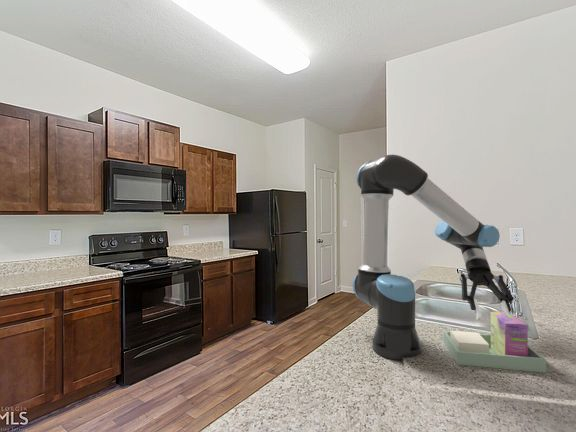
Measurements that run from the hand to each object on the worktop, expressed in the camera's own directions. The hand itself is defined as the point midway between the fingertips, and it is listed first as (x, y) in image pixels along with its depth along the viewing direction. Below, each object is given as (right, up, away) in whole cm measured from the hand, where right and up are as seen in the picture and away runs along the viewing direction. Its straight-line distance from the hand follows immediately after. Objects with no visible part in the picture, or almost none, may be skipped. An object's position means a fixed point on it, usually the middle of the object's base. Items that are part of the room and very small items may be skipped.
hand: (493, 319), depth 99 cm
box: (-2, -8, -9) cm, 13 cm away
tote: (-7, -9, -8) cm, 14 cm away
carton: (-12, -8, -7) cm, 16 cm away
